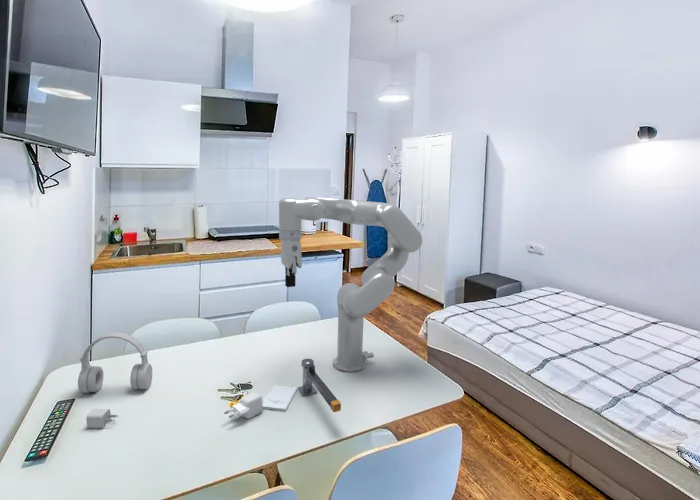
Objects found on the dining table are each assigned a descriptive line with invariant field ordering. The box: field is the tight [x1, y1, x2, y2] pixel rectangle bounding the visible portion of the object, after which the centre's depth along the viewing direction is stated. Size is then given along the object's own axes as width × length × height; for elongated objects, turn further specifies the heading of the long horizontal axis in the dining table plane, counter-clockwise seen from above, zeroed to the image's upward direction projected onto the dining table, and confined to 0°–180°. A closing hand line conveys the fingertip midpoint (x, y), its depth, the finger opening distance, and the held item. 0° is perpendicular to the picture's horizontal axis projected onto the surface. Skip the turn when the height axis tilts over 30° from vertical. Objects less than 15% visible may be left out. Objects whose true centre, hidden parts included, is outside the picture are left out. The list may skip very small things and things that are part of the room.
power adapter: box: [223, 391, 264, 420], centre depth 119 cm, size 11×5×6 cm, turn 137°
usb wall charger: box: [85, 408, 119, 429], centre depth 114 cm, size 4×7×4 cm, turn 93°
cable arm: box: [301, 358, 342, 413], centre depth 123 cm, size 26×4×4 cm, turn 26°
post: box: [297, 366, 318, 398], centre depth 134 cm, size 5×5×9 cm
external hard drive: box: [262, 384, 298, 413], centre depth 130 cm, size 2×8×12 cm
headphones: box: [77, 331, 153, 394], centre depth 131 cm, size 20×8×19 cm, turn 100°
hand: (290, 286), depth 142 cm, fingers closed
